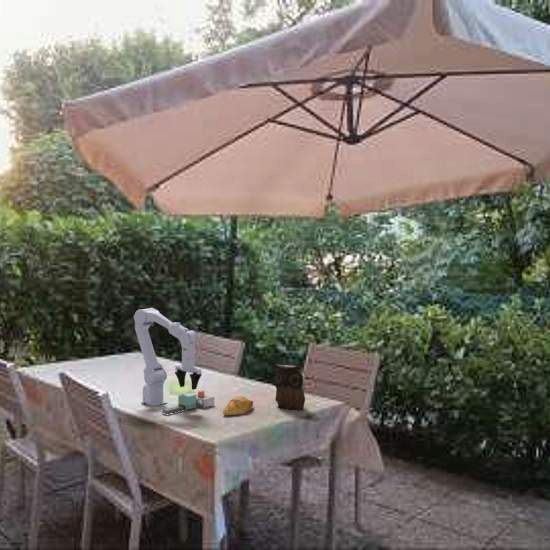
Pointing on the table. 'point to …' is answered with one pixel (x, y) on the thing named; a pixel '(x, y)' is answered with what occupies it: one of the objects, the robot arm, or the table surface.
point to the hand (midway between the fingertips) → (188, 388)
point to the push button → (201, 394)
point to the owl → (289, 387)
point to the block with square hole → (205, 401)
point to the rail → (175, 409)
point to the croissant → (238, 406)
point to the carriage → (187, 400)
